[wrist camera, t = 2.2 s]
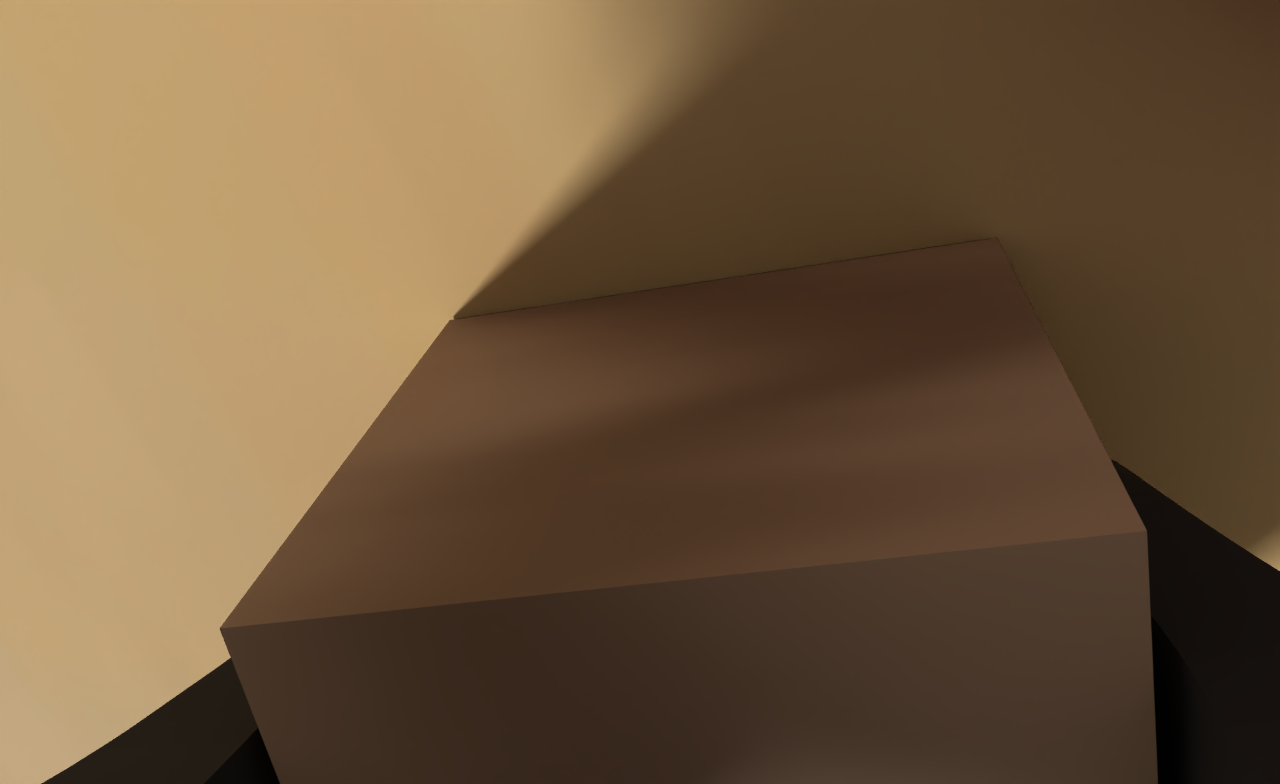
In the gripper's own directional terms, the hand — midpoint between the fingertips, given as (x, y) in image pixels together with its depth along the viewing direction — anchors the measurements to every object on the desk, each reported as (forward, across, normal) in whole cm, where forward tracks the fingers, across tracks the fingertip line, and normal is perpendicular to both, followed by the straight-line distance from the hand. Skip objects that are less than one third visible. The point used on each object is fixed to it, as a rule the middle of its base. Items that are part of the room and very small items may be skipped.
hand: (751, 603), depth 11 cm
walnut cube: (+1, 0, 0) cm, 1 cm away
